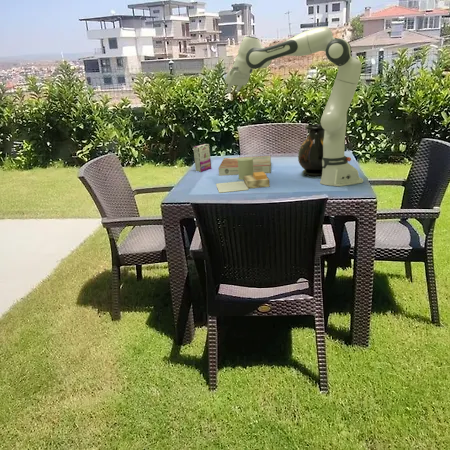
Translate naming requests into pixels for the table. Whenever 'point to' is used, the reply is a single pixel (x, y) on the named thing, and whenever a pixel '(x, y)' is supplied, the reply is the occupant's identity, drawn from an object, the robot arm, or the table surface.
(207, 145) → the candy bar box
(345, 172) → the robot arm
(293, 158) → the table surface
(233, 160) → the pizza box
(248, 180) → the cylinder
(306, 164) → the amphora vase
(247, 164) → the can
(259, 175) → the orange tile
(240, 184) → the cream board
